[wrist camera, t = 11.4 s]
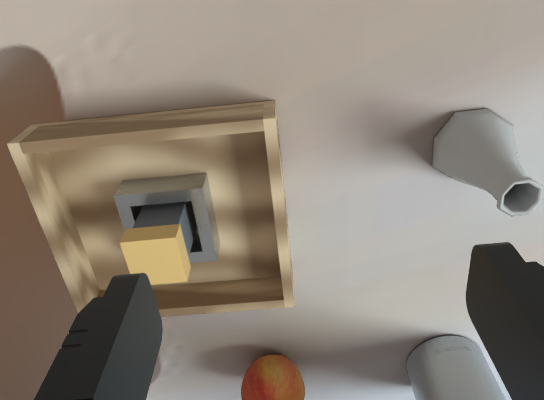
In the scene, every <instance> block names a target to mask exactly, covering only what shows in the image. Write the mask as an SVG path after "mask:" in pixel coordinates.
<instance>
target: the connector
mask: <svg viewBox="0 0 544 400" xmlns="http://www.w3.org/2000/svg"><path fill="white" fill-rule="evenodd" d="M196 228H197V227H196V223H195V219H194V214H193V210H192V206H191V201H186V202H175V203H163V204H152V205H143V207H142V209H141V211H140V214H139V216H138V218H137V220H136V222H135V224H134V226H133V228H132V229H126V231H125V233H124V235H123V237H122V239H121V241H120V245H121V248H122V251H123V254H124V257H125V260H126V263H127V266H128V269H129V272H130V274H136V273H145V274H147V276H148V278H149V281H150V284H151V285H157V284H168V283H179V282H187V281H188V277H189V273H190V269H191V265H190V262H189V255H190V251H191V247H192V243H193V239H194V235H195V231H196Z"/></svg>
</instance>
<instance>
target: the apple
mask: <svg viewBox="0 0 544 400" xmlns="http://www.w3.org/2000/svg"><path fill="white" fill-rule="evenodd" d="M304 396H305V388H304V382H303V379H302V376H301V374H300V372H299V370H298V369H297V367H296V366H295V365H294V363H293V362H292V361H291V360H290V359H288V358H287V357H286V356H283V355H266V356H262V357H260V358H258V359H257V360H255V361H254V362H253V363H252V364H251V366H250V367H249V368H248V370H247V372H246V374H245V376H244V378H243V382H242V387H241V397H242V400H304Z"/></svg>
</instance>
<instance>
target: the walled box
mask: <svg viewBox="0 0 544 400" xmlns="http://www.w3.org/2000/svg"><path fill="white" fill-rule="evenodd" d="M7 146H8V148H9V151H10V153H11V156H12V158H13V160H14V163H15V165H16V167H17V170H18V172H19V175H20V177H21V179H22V182H23V184H24V186H25V189H26V191H27V193H28V196H29V198H30V201H31V203H32V205H33V208H34V210H35V212H36V215H37V217H38V220H39V222H40V224H41V227H42V229H43V231H44V234H45V236H46V239H47V241H48V243H49V246H50V248H51V250H52V253H53V255H54V258H55V260H56V262H57V265H58V267H59V269H60V272H61V274H62V276H63V279H64V281H65V284H66V286H67V288H68V291H69V293H70V296H71V298H72V300H73V303H74V305H75V307H76V310H77V312H78V313H79V312H80V311H81V310H82V309H83V308H84V307H85V306H86V305H87V304H88V303H89V302H90V301H91V300H92V299H93V298H96V297H103V296H104V294H105V292H106V289H107V287H108V285H109V283H110V281H111V279H112V277H113V276H115V275H124V274H130V272H129V269H128V266H127V263H126V260H125V257H124V254H123V251H122V248H121V245H120V241H121V239H122V237H123V235H124V233H125V231H124V228H123V225H122V222H121V219H120V216H119V212H118V209H117V206H116V203H115V200H114V197H113V196H114V194H115V192H116V191H117V189H118V188H119V186H120V184H121V183H122V181H123V180H132V179H143V178H154V177H165V176H176V175H187V174H198V173H207V176H208V182H209V187H210V192H211V197H212V202H213V208H214V213H215V218H216V223H217V228H218V234H219V239H220V247H219V253H218V259H217V261H207V262H195V263H190V265H191V269H190V273H189V277H188V281H187V282H179V283H168V284H157V285H151V287H152V290H153V293H154V297H155V300H156V303H157V306H158V309H159V312H160V316H161V317H166V316H179V315H192V314H205V313H219V312H232V311H245V310H258V309H272V308H285V307H295V304H294V288H293V274H292V264H291V254H290V244H289V234H288V224H287V214H286V204H285V194H284V184H283V174H282V164H281V154H280V144H279V134H278V124H277V114H276V104H275V100H273V101H263V102H253V103H243V104H233V105H222V106H212V107H202V108H192V109H182V110H171V111H161V112H151V113H141V114H131V115H121V116H110V117H100V118H90V119H80V120H70V121H60V122H49V123H39V124H32V125H30V126H29V127H28V128H26V129H25V130H24V131H22V132H21V133H20V134H19V135H17V136H16V137H15V138H14V139H12V140H11V141H10V142H9V143H7ZM191 206H192V210H193V205H192V201H191ZM193 214H194V210H193ZM194 219H195V214H194ZM195 223H196V219H195ZM196 227H197V223H196ZM195 235H199V233H198V228H196V231H195Z"/></svg>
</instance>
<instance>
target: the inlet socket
mask: <svg viewBox="0 0 544 400" xmlns="http://www.w3.org/2000/svg"><path fill="white" fill-rule="evenodd" d="M113 197H114V200H115V203H116V206H117V209H118V212H119V216H120V219H121V222H122V225H123V228H124V231H126V229H132V228H133V226H134V224H135V222H136V220H137V218H138V216H139V214H140V211H141V209H142V207H143V205H152V204H163V203H175V202H186V201H192V205H193V210H194V214H195V219H196V223H197V228H198V233H199V235H194V239H193V243H192V247H191V251H190V255H189V262H190V263H195V262H207V261H217V259H218V253H219V247H220V239H219V234H218V228H217V223H216V218H215V213H214V208H213V202H212V197H211V192H210V187H209V182H208V176H207V173H198V174H187V175H176V176H165V177H154V178H143V179H132V180H123V181H122V183H121V184H120V186H119V188H118V189H117V191H116V192H115V194H114V196H113Z"/></svg>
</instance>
